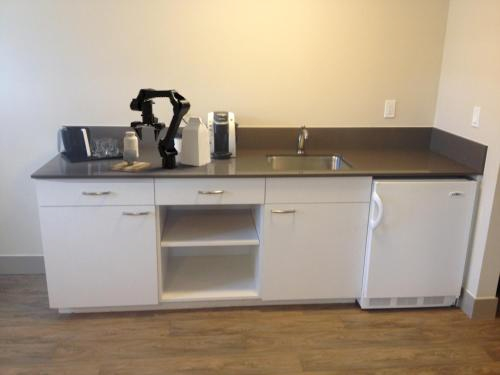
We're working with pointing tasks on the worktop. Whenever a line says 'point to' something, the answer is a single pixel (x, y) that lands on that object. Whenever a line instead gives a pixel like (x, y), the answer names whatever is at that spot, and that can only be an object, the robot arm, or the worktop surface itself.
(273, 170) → the worktop surface
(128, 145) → the pill bottle
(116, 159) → the worktop surface
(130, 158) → the cap
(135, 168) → the base
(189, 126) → the milk
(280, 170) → the worktop surface
